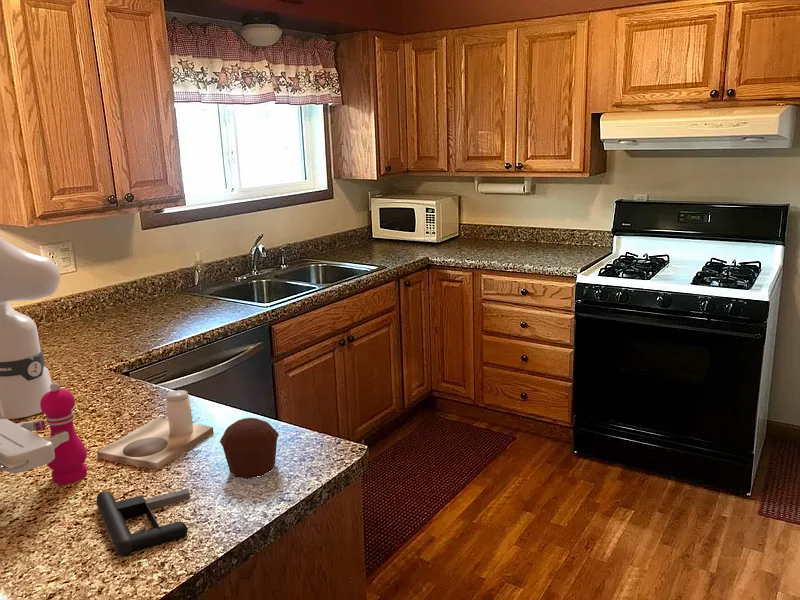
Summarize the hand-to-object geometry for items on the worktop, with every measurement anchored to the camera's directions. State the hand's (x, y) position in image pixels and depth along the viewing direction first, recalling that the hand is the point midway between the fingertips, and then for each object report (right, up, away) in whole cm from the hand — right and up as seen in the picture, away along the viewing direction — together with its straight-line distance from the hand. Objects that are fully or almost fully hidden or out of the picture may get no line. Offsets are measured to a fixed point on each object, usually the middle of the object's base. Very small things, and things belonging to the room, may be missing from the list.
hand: (55, 428), depth 128 cm
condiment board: (+14, -7, +16) cm, 22 cm away
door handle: (+23, -14, -12) cm, 30 cm away
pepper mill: (+1, -10, +4) cm, 11 cm away
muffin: (+37, -9, +5) cm, 39 cm away
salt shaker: (+18, -4, +19) cm, 27 cm away
